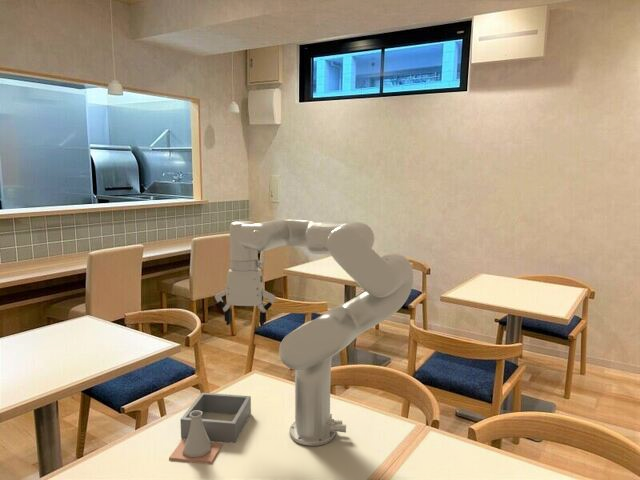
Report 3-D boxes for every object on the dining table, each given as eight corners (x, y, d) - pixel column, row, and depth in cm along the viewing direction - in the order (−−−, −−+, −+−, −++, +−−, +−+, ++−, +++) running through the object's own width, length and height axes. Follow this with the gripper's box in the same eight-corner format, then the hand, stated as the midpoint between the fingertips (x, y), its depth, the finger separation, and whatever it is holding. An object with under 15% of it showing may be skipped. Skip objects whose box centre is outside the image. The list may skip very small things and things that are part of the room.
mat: (222, 444, 122) (222, 442, 122) (211, 463, 114) (211, 461, 114) (182, 441, 123) (182, 439, 123) (169, 459, 116) (169, 457, 115)
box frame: (251, 413, 138) (250, 396, 137) (235, 442, 123) (234, 423, 122) (202, 409, 139) (201, 392, 139) (181, 438, 125) (180, 419, 124)
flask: (204, 460, 114) (203, 422, 113) (177, 456, 116) (175, 419, 114) (216, 443, 121) (215, 407, 120) (190, 440, 123) (189, 404, 121)
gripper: (277, 263, 133) (278, 320, 135) (218, 262, 134) (220, 319, 137) (272, 268, 125) (273, 329, 128) (209, 267, 127) (211, 327, 130)
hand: (245, 324), depth 133 cm, fingers open, 9 cm apart
